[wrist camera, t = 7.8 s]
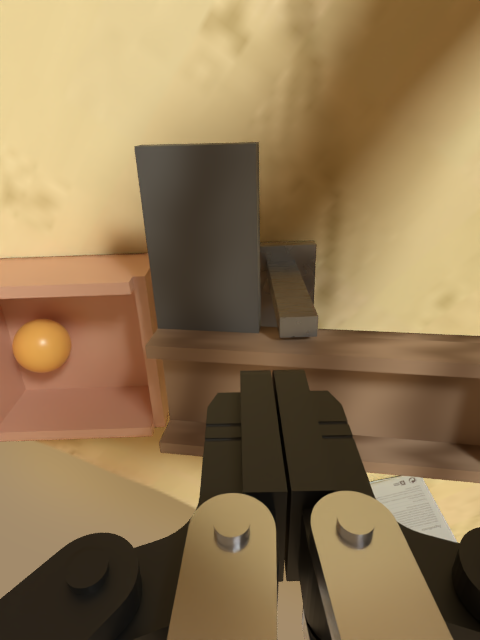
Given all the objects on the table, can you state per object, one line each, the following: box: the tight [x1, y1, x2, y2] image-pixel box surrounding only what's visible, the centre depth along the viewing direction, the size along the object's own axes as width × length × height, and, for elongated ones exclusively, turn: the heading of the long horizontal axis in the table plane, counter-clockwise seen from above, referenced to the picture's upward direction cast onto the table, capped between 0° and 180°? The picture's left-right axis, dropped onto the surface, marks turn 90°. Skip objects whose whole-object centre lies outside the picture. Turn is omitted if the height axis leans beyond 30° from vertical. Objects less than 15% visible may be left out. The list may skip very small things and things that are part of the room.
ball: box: [12, 319, 72, 373], centre depth 32 cm, size 4×4×4 cm
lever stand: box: [260, 241, 318, 338], centre depth 30 cm, size 5×13×10 cm, turn 2°
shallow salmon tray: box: [0, 253, 169, 441], centre depth 31 cm, size 12×13×8 cm
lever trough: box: [135, 142, 480, 483], centre depth 23 cm, size 20×18×3 cm
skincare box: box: [370, 476, 458, 543], centre depth 37 cm, size 8×6×15 cm
